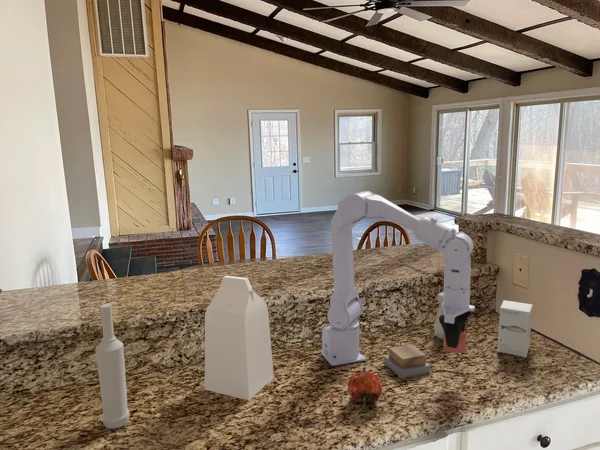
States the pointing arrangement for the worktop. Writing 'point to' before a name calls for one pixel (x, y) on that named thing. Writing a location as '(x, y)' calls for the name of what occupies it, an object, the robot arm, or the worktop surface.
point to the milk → (237, 341)
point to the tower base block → (407, 369)
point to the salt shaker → (438, 326)
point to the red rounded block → (461, 344)
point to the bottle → (111, 374)
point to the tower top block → (407, 356)
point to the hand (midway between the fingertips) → (454, 342)
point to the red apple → (365, 387)
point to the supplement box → (514, 328)
